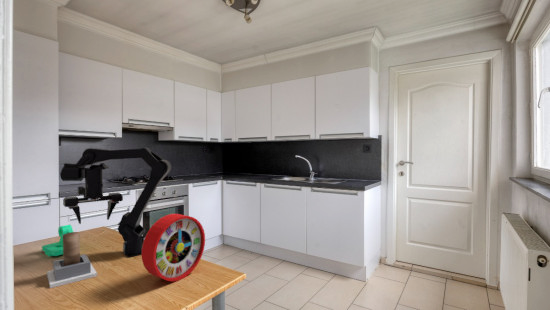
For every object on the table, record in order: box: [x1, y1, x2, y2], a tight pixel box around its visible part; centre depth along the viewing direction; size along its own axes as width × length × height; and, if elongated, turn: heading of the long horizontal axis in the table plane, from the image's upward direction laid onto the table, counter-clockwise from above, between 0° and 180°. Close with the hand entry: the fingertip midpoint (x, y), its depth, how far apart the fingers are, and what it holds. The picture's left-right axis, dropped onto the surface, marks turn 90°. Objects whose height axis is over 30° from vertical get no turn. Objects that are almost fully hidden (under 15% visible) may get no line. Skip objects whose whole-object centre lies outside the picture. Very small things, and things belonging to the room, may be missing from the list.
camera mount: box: [41, 224, 74, 257], centre depth 113 cm, size 12×8×10 cm, turn 58°
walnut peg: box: [62, 231, 81, 267], centre depth 93 cm, size 4×4×12 cm
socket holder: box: [46, 253, 98, 289], centre depth 93 cm, size 12×12×4 cm
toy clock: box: [141, 213, 206, 282], centre depth 92 cm, size 20×6×20 cm, turn 147°
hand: (94, 221), depth 110 cm, fingers open, 9 cm apart
